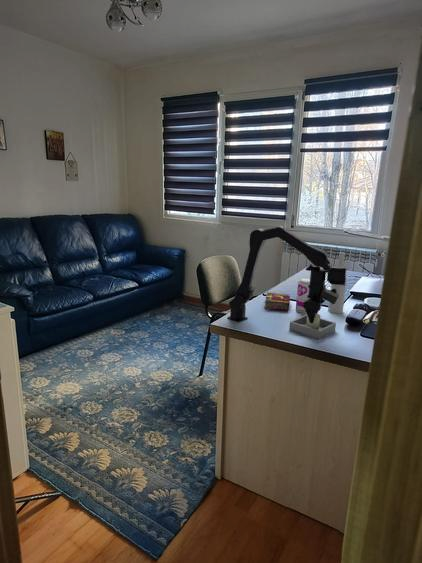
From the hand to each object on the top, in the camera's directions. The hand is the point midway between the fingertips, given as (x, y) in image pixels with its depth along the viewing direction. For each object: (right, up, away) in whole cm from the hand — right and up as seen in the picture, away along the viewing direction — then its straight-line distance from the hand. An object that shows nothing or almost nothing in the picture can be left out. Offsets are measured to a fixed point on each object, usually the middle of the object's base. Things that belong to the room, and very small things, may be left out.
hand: (313, 319), depth 144 cm
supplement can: (+3, +1, +25) cm, 25 cm away
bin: (0, -4, +1) cm, 4 cm away
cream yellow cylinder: (0, -4, +1) cm, 4 cm away
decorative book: (-9, +3, +31) cm, 33 cm away
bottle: (+18, +1, +26) cm, 31 cm away
